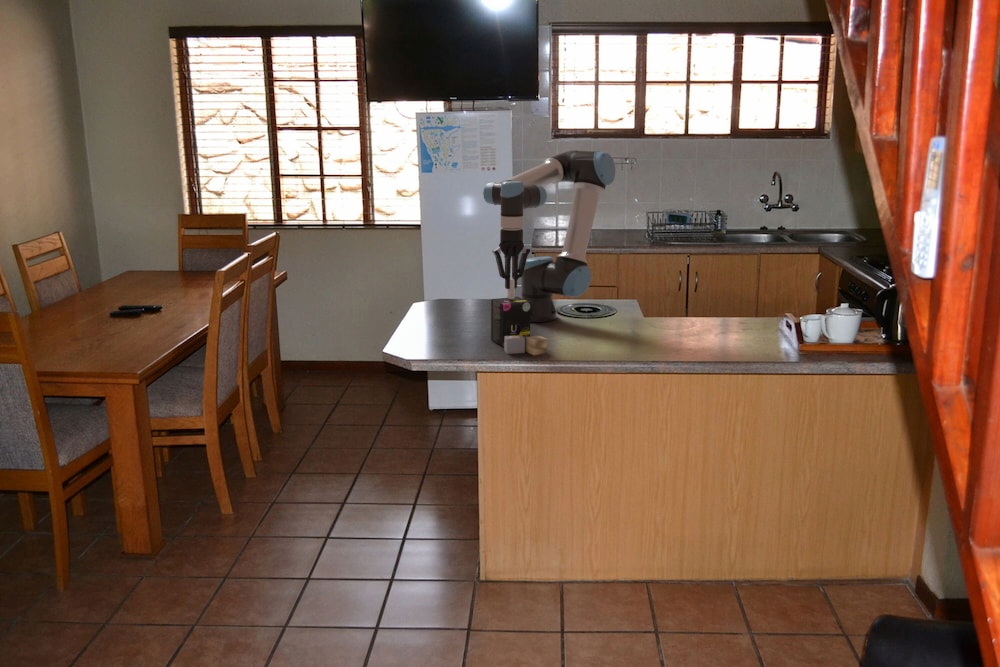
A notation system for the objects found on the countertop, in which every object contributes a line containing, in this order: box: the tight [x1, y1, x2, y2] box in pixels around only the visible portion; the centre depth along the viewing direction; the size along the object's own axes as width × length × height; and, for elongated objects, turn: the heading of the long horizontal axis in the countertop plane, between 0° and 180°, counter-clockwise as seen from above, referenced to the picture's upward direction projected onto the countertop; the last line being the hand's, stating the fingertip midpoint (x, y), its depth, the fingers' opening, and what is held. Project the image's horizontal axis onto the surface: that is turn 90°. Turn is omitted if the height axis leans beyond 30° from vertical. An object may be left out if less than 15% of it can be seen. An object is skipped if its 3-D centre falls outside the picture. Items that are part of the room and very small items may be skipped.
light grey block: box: [503, 335, 526, 355], centre depth 293 cm, size 6×4×5 cm, turn 101°
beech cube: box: [525, 335, 548, 356], centre depth 292 cm, size 5×5×5 cm
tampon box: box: [490, 296, 531, 347], centre depth 304 cm, size 11×9×15 cm
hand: (510, 298), depth 302 cm, fingers closed
